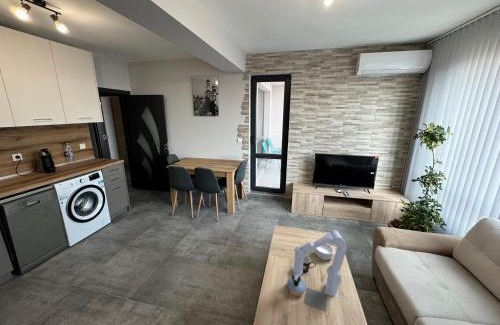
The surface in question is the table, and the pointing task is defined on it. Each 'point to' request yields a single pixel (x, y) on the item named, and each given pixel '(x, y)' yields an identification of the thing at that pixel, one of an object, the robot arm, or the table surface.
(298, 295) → the bowl
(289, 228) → the table surface
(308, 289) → the mat
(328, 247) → the paper bowls
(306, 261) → the coffee mug
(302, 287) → the lid
